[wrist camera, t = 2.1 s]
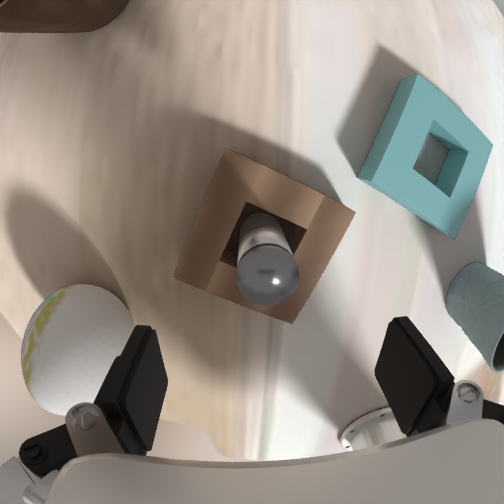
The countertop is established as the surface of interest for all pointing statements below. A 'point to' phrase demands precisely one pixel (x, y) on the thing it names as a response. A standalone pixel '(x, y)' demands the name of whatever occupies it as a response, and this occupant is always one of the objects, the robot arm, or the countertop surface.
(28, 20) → the plant pot
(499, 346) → the grey-blue cup
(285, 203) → the mount block
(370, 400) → the countertop surface
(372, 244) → the countertop surface
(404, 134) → the socket block
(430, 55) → the countertop surface
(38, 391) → the decorative egg
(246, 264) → the pin
